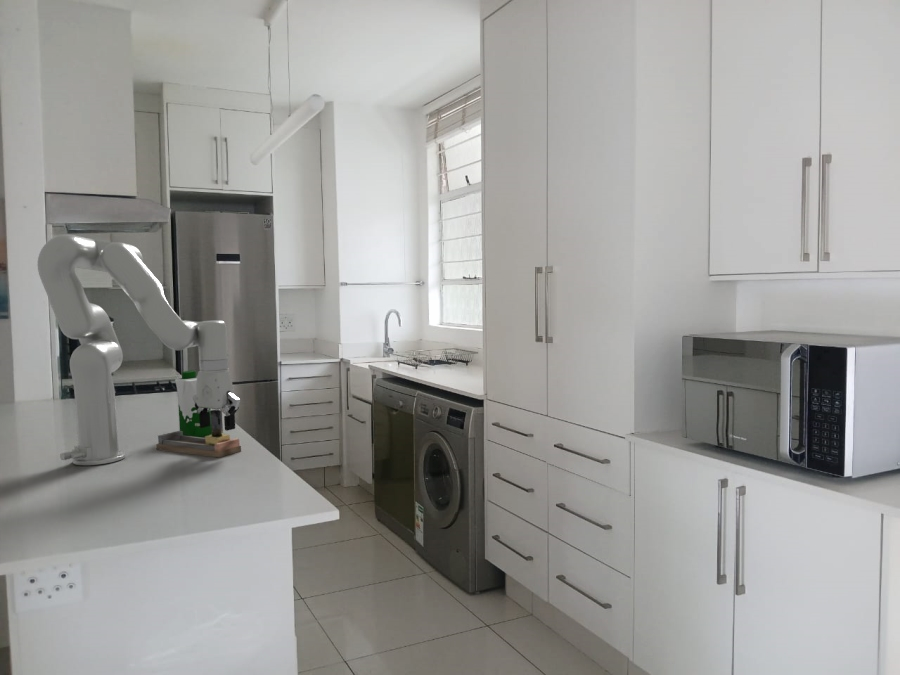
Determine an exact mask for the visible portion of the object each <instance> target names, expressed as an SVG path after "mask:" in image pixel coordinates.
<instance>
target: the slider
mask: <svg viewBox="0 0 900 675" xmlns="http://www.w3.org/2000/svg"><path fill="white" fill-rule="evenodd" d="M210 415H211V433H212V435H208V436H205V437H204V438H205V441H206V445H214V444H215V443H219V442H223V441H227V440H231V438H230V437H231V436H230V434H227V433H224V428H223V427H224V424H223V422H224V421H223V409H222V408H221V409H211V410H210Z"/></svg>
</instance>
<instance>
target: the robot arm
mask: <svg viewBox="0 0 900 675" xmlns="http://www.w3.org/2000/svg"><path fill="white" fill-rule="evenodd" d="M76 269H83V270H92V271H98V272H104V273H107V274H108V275H109V276H110V277H111V278H112V279H113V280H114V282H115V283H116V284H117V285H118V286H119V287H120V289H122V291H123V292H124V293H125V295H127V297H128V298H130V300H131V302H132V303H133V304H134V306H135V308H136V309H137V311H138V313H139V314H140V316H141V317H142V319H143V320H144V322H145V323H146V325H147V326H148V327H149V329H150V330H151V331H152V332H153V333H154V335H156V337H157V338H158V339H159V340H160V341H161V343H162V344H163V345H165V346H166V347H167V348H168V349H171V350H174V351H183V350H185V349H190V348H194V347H197V348H198V365H199V371H198V372H197V374H196V377H197V384H196V395H194V396H193V397H192V398H193V401H194V403H195V407H196V409H197V413H200V414H199V423H200V428H204V427H209V426H210V412H207V411H208V410H209V408H210V409H211V410H215V409H222V412H224V414H225V415H224V416H223V422H224V424H223V426H224V431H227V432H228V431H232V430H235V429H236V418H235V417H236V415H237V412H238V410H239V406H240V403H241V399H240V398H239V397H238V396H236V395H235V394H234V386H233V380H232V375H231V371H230V368H229V367H230V366H229V349H228V348H229V347H228V346H229V345H228V329H227V324H226V322H225V321H223V320H219V319H218V320H203V321H193V320H183V319H181V317H180V316H179V315H178V314H177V313H176V312H175V310H174V309H173V308H172V306H171V305H170V304H169V302H168V300H167V299H166V296H165V293H164V292H165V291H164V287H163V285H162V283H161V282H160V281H159V279H158V278H157V277H156V276H155V275H154V274H153V272H152V271H151V270H150V269H149V268H148V266H147V265H146V264H145V263H144V258H143V254H142V252H141V251H140V250H139V249H138V247H136V246H135V245H132V244H129V243H126V242H121V241H119V242H117V241H115V242H112V241H107V240H106V241H105V240H100V239H94V238H88V237H83V236H80V235H75V234H69V233H68V234H67V233H66V234H59V235H56V236H54V237H52V238H50V239H49V240H48V241H47V242H46V243H45V244H44V245H43V247H41V249H40V251H39V253H38V257H37V271H38V276H39V278H40V280H41V284H42V286H43V288H44V290H45V292H46V296H47V298H48V300H49V304H50V306H51V309H52V311H53V314H54V317H55V318H56V321H57V325H58V327H59V328H60V331H61V332H62V334H63V335H64V336H65V337H67V338H69V339H71V340H78V341H79V344H80V345H78V347H76V348H75V349H74V350H73V351H72V354H71V356H70V358H69V370H70V375H71V378H72V384H73V390H74V392H73V393H74V402H75V412H76V413H75V416H76V430H77V433H76V434H77V445H74V446H73V447H74V449H72V450H71V451H65V452H61V453H60V454H59V457H60V460H61V461H66V460H70V459H71V460H72V464H74V465H76V466H95V465H104V464H110V463H115V462H117V461H121V460H123V459H125V457H126V452H125V451H122V450H119V434H118V432H119V431H118V418H117V404H116V402H117V401H116V390H115V385H114V379H113V375H112V373H114V372H116V371H117V370H118V369H119V368H120V367H121V365H122V363H123V358H124V354H123V350H122V347H121V345H120V342H119V338H118V337H117V334H116V331H115V329H114V326H113V324H112V322H111V319H110V317H109V315H108V313H107V312H106V311H105V310H104V309H103V308H102V306H100V305H98V304H95V303H92V302H90V301H89V299H88V297H87V294H86V293H85V289H84V287H83V284H82V282H81V280H80V279H79V278H78V275H77V274H76V271H75V270H76Z"/></svg>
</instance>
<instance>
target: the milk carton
mask: <svg viewBox="0 0 900 675" xmlns="http://www.w3.org/2000/svg"><path fill="white" fill-rule="evenodd" d="M181 376H182V378H176V379H175V380H174V381H175V385H176V391H177V403H178V405H177V406H178V419H179V420H178V422H179V425H178V426H179V431H183V436H192V437H201V438H205V436H208V435H212V433H211V415H210V426H209V427H204V428H200V423H199V414H200V413H197V409H196V407H195V403H194V401H193V398H192V397H193V396H194V395H196V384H197V371H196V370H184V371H182V372H181ZM210 410H212V409H210V408H209V410H208V411H207V412H210Z"/></svg>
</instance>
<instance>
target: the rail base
mask: <svg viewBox="0 0 900 675" xmlns="http://www.w3.org/2000/svg"><path fill="white" fill-rule="evenodd" d="M157 438H158V439H157V440H158V443H156V444H155V446H156V450H159V451H167V452H175V453H180V454H190V455H197V456H202V457H203V456H204V457H211V458H222V457H225V456H229V455H233V454H235V453H239V452H242V446H241V445H240V438H230V440H227V441H223V442H219V443H215V444H214V445H206V441H205V437H203V438H201V437H192V436H183V431H180V430H177V431H172V432H169V433H163V434H160V435H157Z"/></svg>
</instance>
